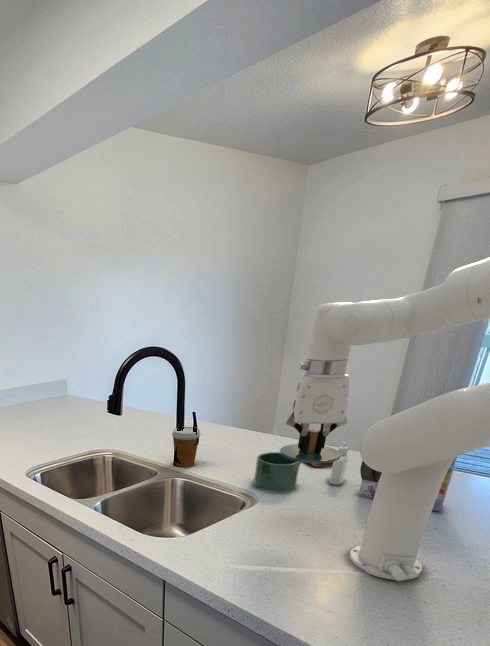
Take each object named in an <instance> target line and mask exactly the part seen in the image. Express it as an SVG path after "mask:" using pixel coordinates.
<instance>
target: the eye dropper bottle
mask: <svg viewBox="0 0 490 646" xmlns="http://www.w3.org/2000/svg"><path fill="white" fill-rule="evenodd" d="M337 451H339V452H340V454H341V456H340V459H338V460H337V461H334V462H333V466H331V471H330V476H329V479H328V480H329V481H328V482H329V484H330V485H336V486H340V485H341V484H343V482H344V477H345V474H346V469H347V465H348V461H349V457H348V451H349V447H348V446H347V442H342V445H340V446H339V447H338V448H337Z"/></svg>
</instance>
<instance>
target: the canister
mask: <svg viewBox="0 0 490 646" xmlns="http://www.w3.org/2000/svg"><path fill="white" fill-rule="evenodd" d="M300 466H301V462H298V461H294V460H290V459H287V458H285V457H283V456H282V455H281V454H280V451H279V452H278V451H277V452H276V451H275V452H273V451H272V452H263V453H261V454H258V455H257V457H256V464H255V471H254V479H253V485H254V487H255V488H256V489H262V490H264V491H270V492H282V493H283V492H288V491H292V490H295V489H296V486H297V481H298V476H299V470H300Z"/></svg>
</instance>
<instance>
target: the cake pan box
mask: <svg viewBox="0 0 490 646" xmlns="http://www.w3.org/2000/svg"><path fill="white" fill-rule="evenodd" d="M457 458H458V456H456V457H455V458H454V460H453V462H452V464H451V466H450V467H449V469H448V471H447V473H446V475H445V478H444V480H443V482H442V485H441V488H440V490H439V493H438V496H437V499H436V501H435V504H434V507H433V509H432V511H435V512H440V511H441V509H442V507H443V505H444V501H445V498H446V495H447V492H448V489H449V485H450V482H451V480H452V476H453V472H454V469H455V467H456V463H457ZM381 474H382V472H378V471H376V470H374V469H372V468H370V467H369V466H368V465H366V464H365V462H364V461H363V460H362V461H361V464H360V477H361V484H360V489H359V491H358V494H359V495H362V496H366V497H367V498H369V499H374V496H375V492H376V489H377V485H378V482H379V479H380V476H381Z"/></svg>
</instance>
